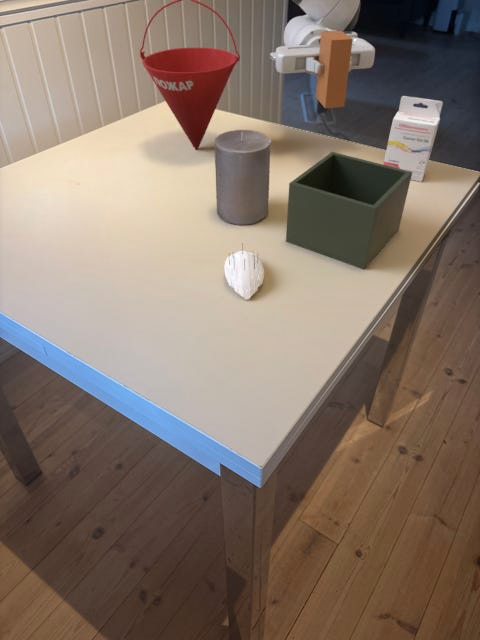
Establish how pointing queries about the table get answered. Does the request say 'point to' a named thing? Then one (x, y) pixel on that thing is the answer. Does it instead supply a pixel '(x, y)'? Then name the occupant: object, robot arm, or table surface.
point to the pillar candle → (242, 176)
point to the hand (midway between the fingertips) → (334, 68)
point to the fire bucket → (191, 81)
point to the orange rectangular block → (333, 68)
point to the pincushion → (244, 272)
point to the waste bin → (346, 208)
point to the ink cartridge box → (413, 136)
